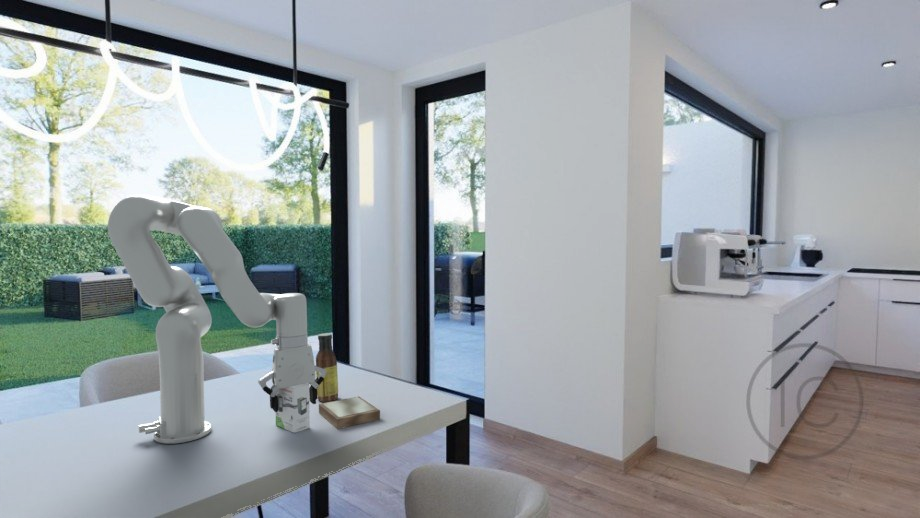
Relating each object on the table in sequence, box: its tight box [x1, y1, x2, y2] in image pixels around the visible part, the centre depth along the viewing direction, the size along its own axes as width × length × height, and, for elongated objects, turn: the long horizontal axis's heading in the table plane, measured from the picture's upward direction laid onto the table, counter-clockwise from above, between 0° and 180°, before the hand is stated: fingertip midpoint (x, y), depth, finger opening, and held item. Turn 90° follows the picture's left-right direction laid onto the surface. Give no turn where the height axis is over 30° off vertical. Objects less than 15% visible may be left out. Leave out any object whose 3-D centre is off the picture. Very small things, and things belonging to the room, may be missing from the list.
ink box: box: [275, 383, 311, 434], centre depth 131 cm, size 9×5×12 cm, turn 52°
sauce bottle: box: [315, 332, 339, 403], centre depth 152 cm, size 7×6×20 cm
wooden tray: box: [318, 396, 381, 430], centre depth 139 cm, size 12×14×3 cm
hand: (294, 406), depth 131 cm, fingers open, 9 cm apart
